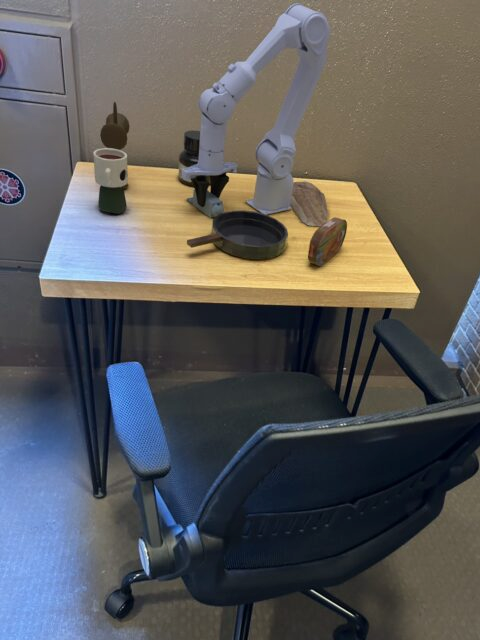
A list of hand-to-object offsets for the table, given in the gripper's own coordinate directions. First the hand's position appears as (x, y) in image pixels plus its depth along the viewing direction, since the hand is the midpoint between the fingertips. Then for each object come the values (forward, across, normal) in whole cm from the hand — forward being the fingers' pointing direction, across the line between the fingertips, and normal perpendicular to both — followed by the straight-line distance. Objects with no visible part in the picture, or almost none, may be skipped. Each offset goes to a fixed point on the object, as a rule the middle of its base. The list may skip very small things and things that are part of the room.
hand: (207, 203), depth 129 cm
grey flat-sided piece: (+2, 0, 0) cm, 2 cm away
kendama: (+2, +14, -19) cm, 24 cm away
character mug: (+2, +21, -8) cm, 23 cm away
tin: (+2, -12, +30) cm, 32 cm away
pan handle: (-1, +12, +17) cm, 21 cm away
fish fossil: (+2, -28, +7) cm, 29 cm away
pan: (+2, 0, +17) cm, 17 cm away
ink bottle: (+2, -7, -16) cm, 18 cm away
